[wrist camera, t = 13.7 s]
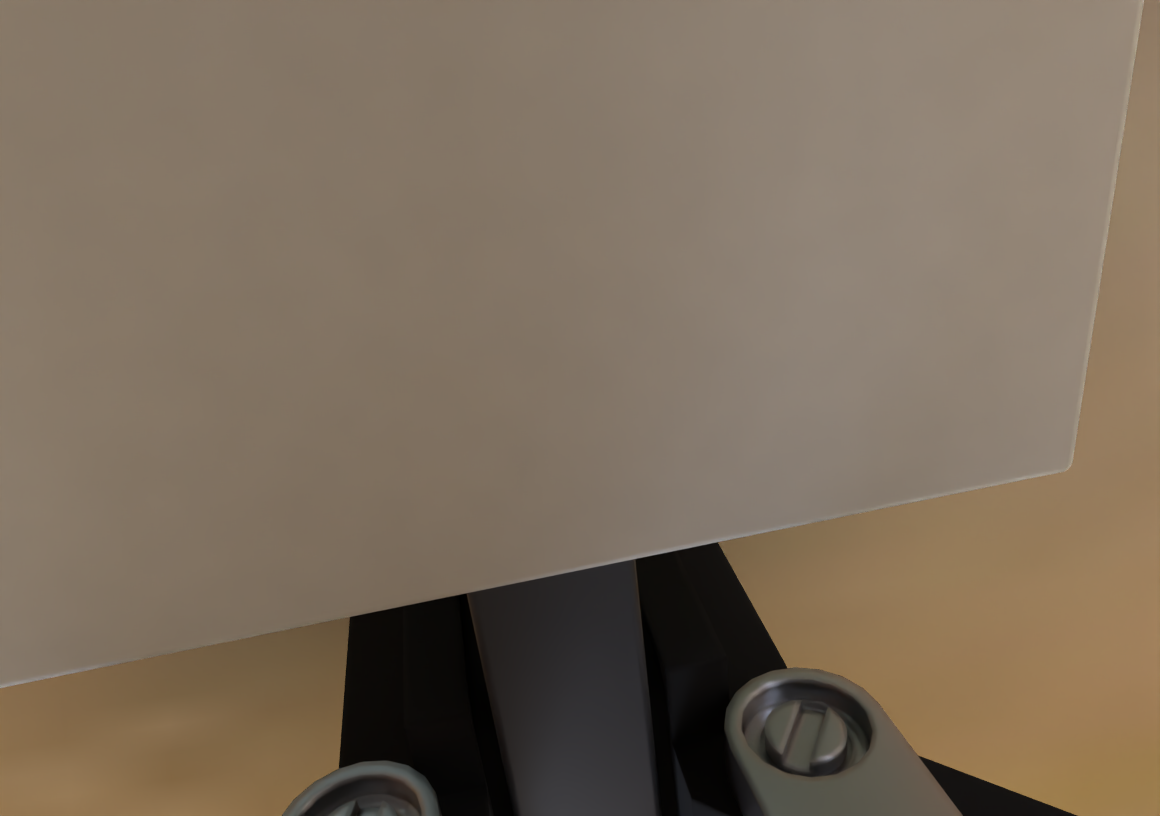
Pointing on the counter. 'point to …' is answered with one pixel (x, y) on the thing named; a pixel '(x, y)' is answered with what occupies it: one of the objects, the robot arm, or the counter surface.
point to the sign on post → (520, 312)
